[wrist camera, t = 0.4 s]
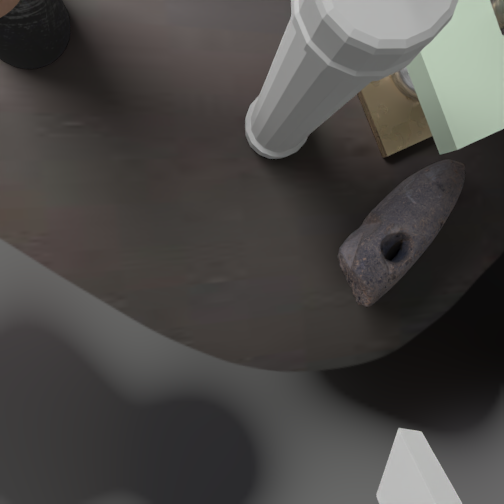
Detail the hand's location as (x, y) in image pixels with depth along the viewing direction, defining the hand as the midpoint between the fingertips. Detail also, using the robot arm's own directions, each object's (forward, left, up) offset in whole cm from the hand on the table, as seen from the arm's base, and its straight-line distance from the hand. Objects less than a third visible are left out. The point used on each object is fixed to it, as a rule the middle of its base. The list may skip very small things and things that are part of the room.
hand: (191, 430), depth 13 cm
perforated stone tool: (-8, +16, -25) cm, 31 cm away
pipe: (-15, +5, -25) cm, 29 cm away
